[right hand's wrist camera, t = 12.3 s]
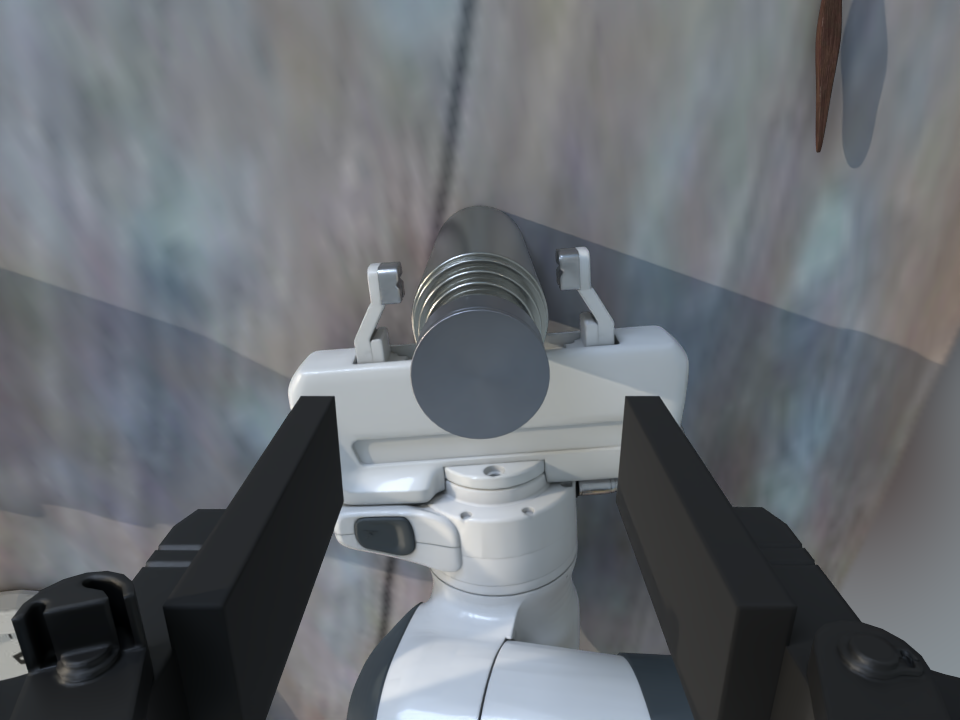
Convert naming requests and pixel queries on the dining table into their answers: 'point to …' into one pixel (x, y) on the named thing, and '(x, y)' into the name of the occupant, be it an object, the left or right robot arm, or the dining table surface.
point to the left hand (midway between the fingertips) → (477, 256)
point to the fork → (826, 60)
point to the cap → (480, 367)
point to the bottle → (480, 267)
